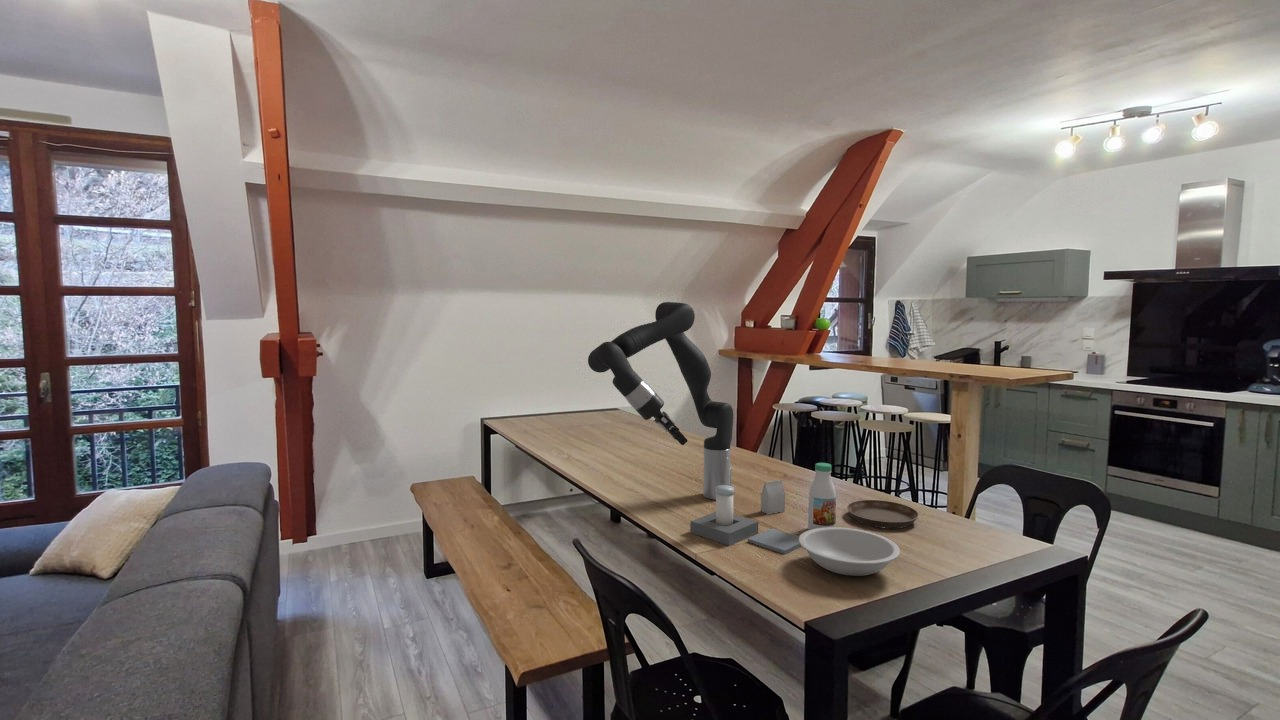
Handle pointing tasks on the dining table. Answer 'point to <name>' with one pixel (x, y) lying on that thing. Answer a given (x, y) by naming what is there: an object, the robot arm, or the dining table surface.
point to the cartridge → (724, 505)
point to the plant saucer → (882, 513)
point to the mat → (776, 540)
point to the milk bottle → (822, 499)
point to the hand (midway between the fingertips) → (681, 440)
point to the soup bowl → (849, 550)
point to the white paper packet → (773, 497)
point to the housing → (724, 529)
